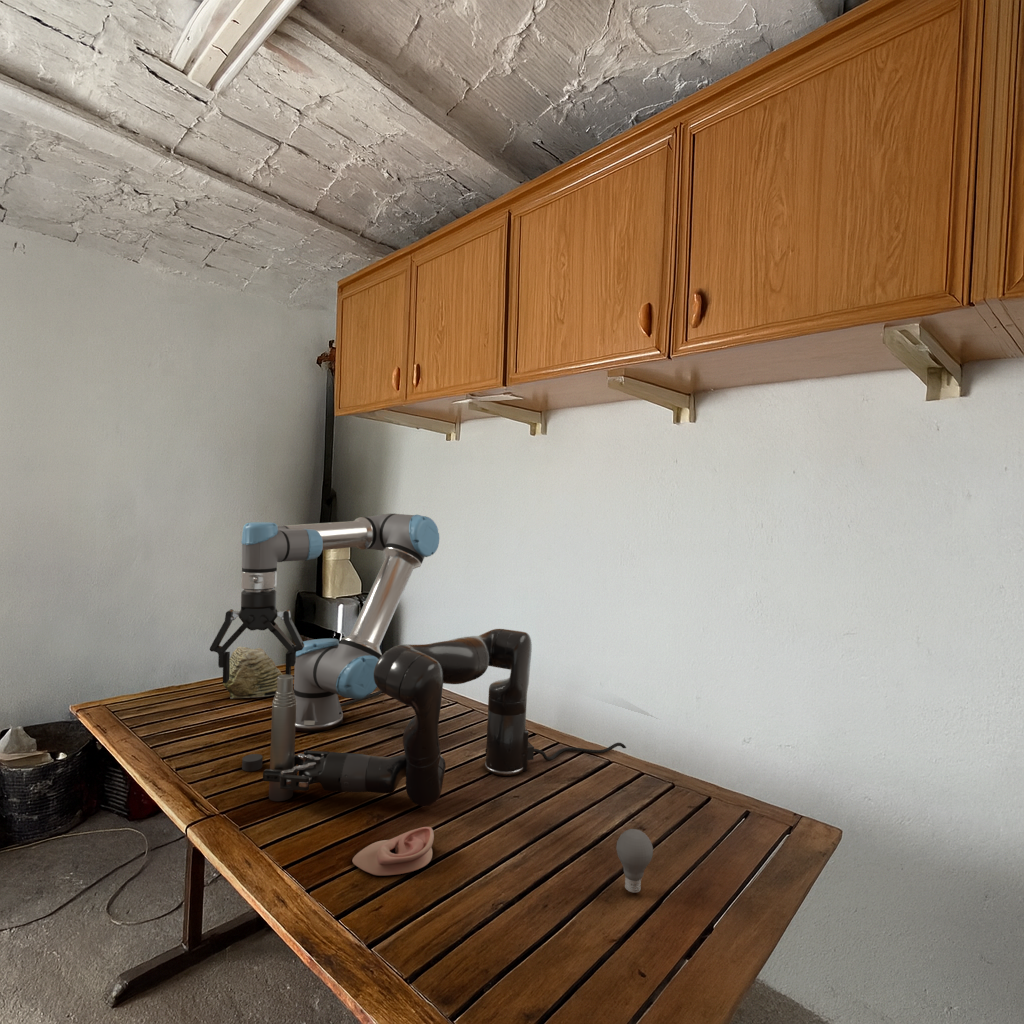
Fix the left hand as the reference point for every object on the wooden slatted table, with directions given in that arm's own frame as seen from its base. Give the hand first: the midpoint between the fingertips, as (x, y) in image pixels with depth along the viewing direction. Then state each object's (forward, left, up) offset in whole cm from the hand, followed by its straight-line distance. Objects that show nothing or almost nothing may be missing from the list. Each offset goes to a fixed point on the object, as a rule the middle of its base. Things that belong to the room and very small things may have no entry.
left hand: (257, 680), depth 146 cm
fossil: (-27, -48, -20) cm, 59 cm away
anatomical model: (+3, +52, -20) cm, 56 cm away
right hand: (+5, +15, -14) cm, 21 cm away
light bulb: (-18, +88, -20) cm, 92 cm away
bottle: (+4, +17, -20) cm, 27 cm away
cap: (0, 0, -18) cm, 18 cm away
